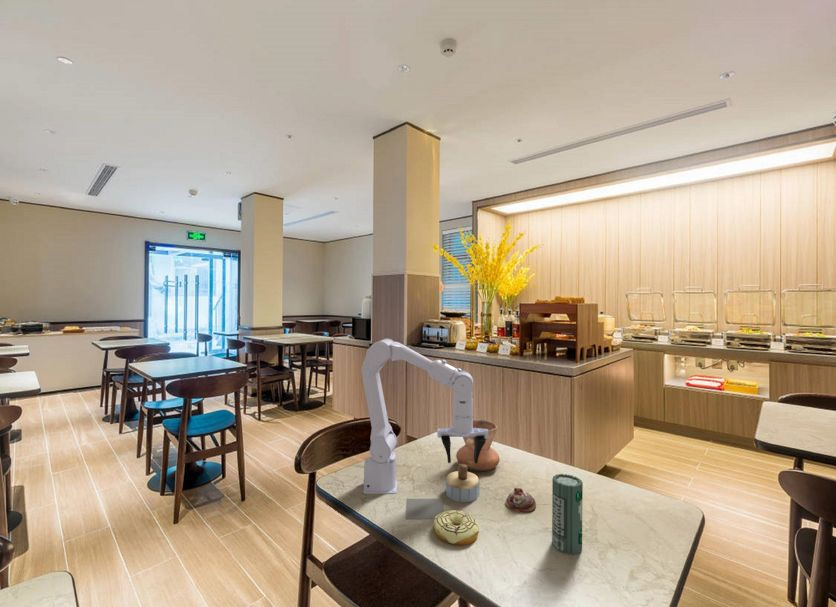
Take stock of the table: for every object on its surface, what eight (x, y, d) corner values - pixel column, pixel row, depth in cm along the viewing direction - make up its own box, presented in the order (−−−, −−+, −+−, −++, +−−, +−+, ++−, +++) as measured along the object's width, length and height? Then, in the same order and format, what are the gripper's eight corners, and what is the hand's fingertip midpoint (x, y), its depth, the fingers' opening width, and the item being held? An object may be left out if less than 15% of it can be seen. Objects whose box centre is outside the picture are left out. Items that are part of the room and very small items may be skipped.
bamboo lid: (447, 488, 106) (447, 472, 105) (446, 473, 114) (446, 458, 114) (479, 489, 105) (480, 473, 105) (477, 474, 114) (477, 459, 114)
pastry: (503, 509, 103) (503, 491, 103) (508, 496, 110) (508, 479, 110) (534, 516, 100) (534, 496, 100) (537, 502, 107) (537, 484, 107)
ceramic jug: (489, 481, 119) (490, 435, 119) (447, 469, 126) (448, 426, 126) (507, 461, 134) (508, 421, 134) (468, 452, 141) (469, 414, 142)
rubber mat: (405, 520, 97) (405, 519, 97) (406, 500, 107) (406, 498, 107) (445, 520, 97) (445, 518, 97) (442, 500, 107) (442, 498, 107)
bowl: (447, 503, 105) (447, 488, 105) (444, 486, 115) (444, 473, 115) (481, 503, 105) (481, 488, 105) (476, 486, 115) (476, 473, 115)
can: (587, 551, 85) (587, 484, 85) (564, 556, 84) (564, 488, 83) (569, 535, 91) (569, 472, 91) (547, 539, 89) (547, 475, 89)
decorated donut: (453, 555, 84) (453, 538, 84) (425, 531, 93) (425, 515, 93) (487, 538, 90) (487, 522, 90) (457, 517, 99) (457, 502, 99)
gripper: (438, 418, 106) (438, 467, 106) (490, 418, 106) (490, 467, 106) (437, 411, 113) (436, 457, 113) (485, 411, 113) (485, 457, 113)
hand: (462, 461), depth 110 cm, fingers open, 7 cm apart
